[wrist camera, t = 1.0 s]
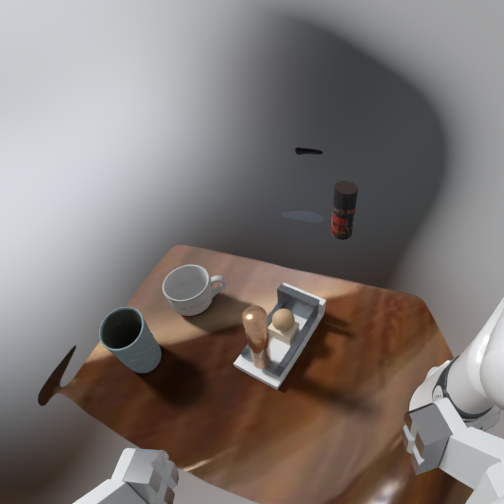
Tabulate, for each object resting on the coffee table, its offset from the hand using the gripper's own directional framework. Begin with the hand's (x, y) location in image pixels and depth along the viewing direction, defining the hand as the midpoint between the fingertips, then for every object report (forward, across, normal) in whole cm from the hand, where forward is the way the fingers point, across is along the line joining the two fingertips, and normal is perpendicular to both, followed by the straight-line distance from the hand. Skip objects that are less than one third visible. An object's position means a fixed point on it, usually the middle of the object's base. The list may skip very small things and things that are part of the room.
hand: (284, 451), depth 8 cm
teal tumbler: (+47, -33, -24) cm, 62 cm away
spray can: (+77, +18, -14) cm, 81 cm away
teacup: (+59, -20, -19) cm, 65 cm away
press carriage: (+48, -3, -25) cm, 54 cm away
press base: (+49, -3, -27) cm, 56 cm away
